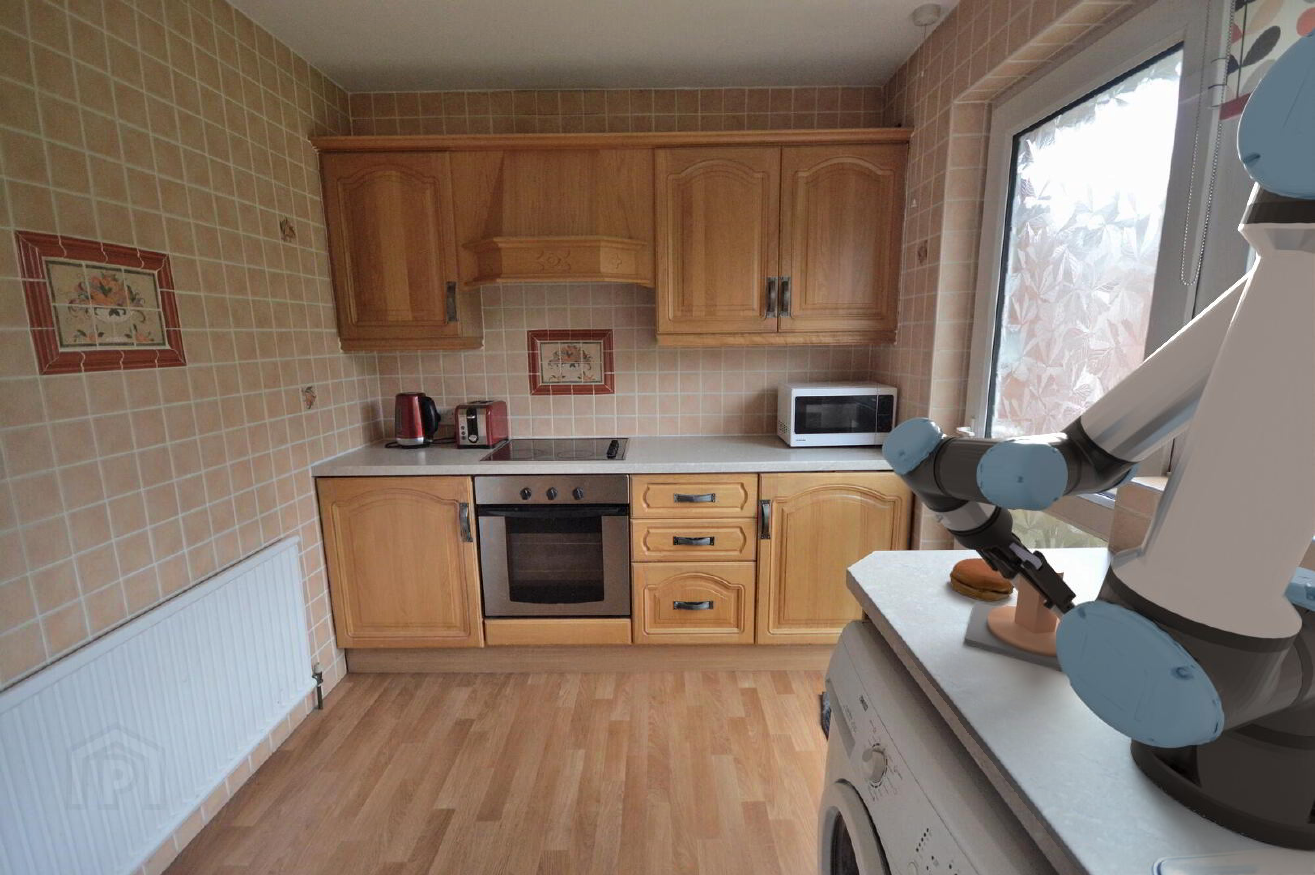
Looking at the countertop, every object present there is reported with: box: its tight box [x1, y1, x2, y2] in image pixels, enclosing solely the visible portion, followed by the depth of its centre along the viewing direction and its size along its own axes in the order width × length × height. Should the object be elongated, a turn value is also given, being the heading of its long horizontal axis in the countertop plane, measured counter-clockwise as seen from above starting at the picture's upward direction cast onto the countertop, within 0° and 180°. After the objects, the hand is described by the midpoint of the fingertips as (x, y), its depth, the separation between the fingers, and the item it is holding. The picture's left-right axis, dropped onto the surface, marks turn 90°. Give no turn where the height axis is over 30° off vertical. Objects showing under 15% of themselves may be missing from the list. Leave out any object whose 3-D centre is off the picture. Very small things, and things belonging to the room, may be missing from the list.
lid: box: [987, 565, 1065, 657], centre depth 81 cm, size 12×12×10 cm
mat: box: [963, 601, 1063, 672], centre depth 82 cm, size 13×14×1 cm
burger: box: [949, 557, 1015, 602], centre depth 97 cm, size 10×9×5 cm
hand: (1058, 612), depth 82 cm, fingers open, 5 cm apart
